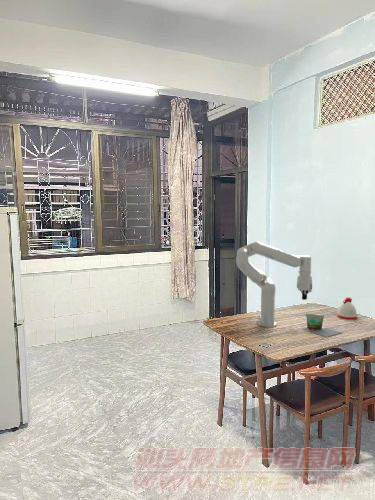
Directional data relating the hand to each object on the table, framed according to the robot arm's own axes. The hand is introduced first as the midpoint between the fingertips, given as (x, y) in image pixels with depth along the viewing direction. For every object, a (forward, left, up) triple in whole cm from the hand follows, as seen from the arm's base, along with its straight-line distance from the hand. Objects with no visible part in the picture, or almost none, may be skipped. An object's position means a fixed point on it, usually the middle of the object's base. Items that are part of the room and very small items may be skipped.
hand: (304, 299), depth 255 cm
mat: (+18, 0, -19) cm, 26 cm away
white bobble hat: (+4, +45, -19) cm, 49 cm away
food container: (+9, 0, -19) cm, 21 cm away
